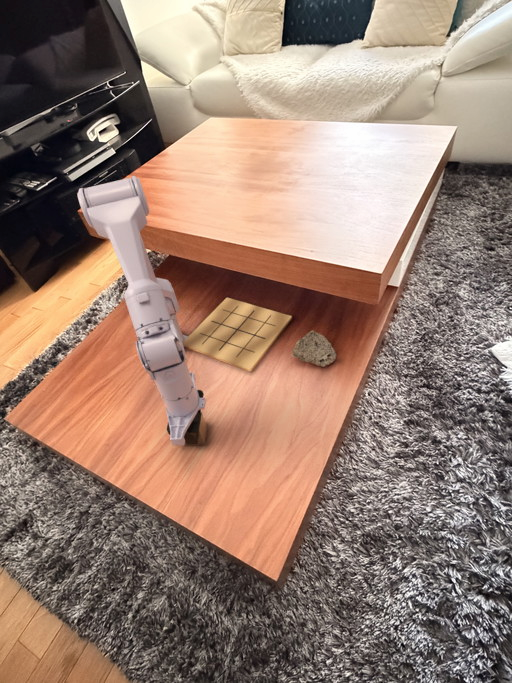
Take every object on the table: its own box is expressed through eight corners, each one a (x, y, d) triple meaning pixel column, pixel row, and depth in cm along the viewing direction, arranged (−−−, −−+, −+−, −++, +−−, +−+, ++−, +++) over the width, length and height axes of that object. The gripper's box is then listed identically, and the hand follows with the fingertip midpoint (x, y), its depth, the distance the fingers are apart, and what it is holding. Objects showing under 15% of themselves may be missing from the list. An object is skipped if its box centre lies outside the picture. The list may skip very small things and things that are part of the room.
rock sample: (331, 368, 79) (310, 330, 80) (302, 381, 84) (283, 345, 84) (349, 354, 87) (330, 320, 88) (322, 366, 92) (304, 334, 92)
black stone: (204, 445, 74) (199, 430, 70) (184, 446, 74) (177, 431, 71) (207, 427, 77) (201, 412, 73) (187, 428, 77) (181, 413, 74)
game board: (181, 345, 95) (181, 343, 94) (227, 299, 106) (226, 296, 106) (250, 372, 86) (250, 369, 85) (292, 318, 98) (292, 315, 97)
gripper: (193, 422, 59) (210, 466, 69) (204, 354, 70) (218, 401, 79) (149, 424, 60) (172, 468, 69) (166, 357, 71) (184, 403, 80)
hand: (194, 432), depth 74 cm, fingers closed on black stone, 4 cm apart
